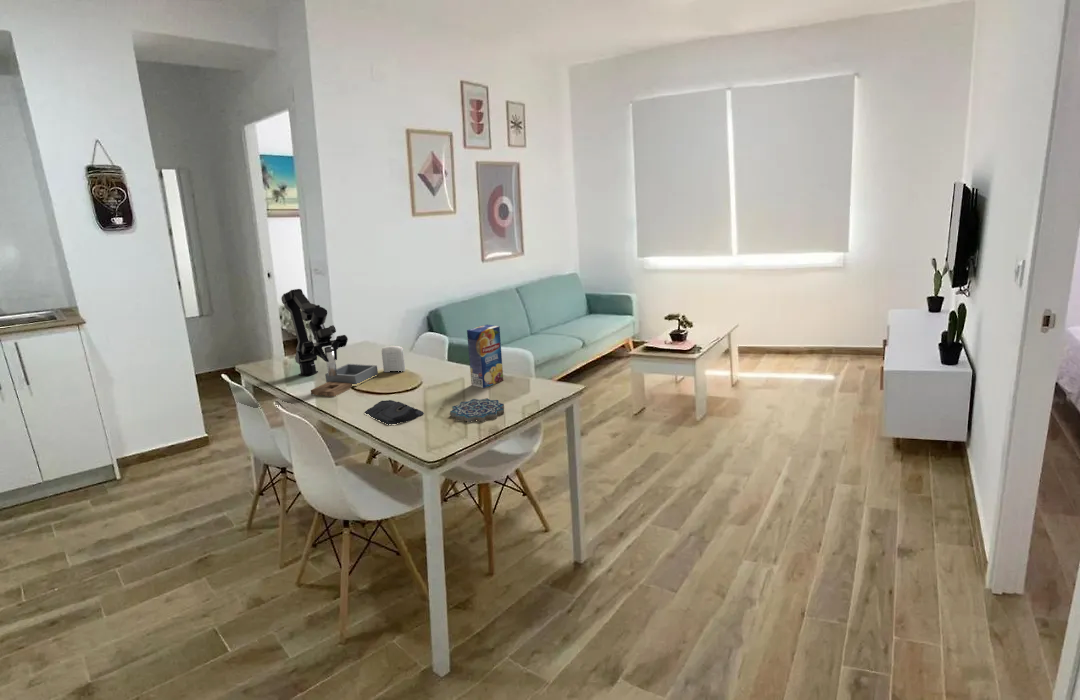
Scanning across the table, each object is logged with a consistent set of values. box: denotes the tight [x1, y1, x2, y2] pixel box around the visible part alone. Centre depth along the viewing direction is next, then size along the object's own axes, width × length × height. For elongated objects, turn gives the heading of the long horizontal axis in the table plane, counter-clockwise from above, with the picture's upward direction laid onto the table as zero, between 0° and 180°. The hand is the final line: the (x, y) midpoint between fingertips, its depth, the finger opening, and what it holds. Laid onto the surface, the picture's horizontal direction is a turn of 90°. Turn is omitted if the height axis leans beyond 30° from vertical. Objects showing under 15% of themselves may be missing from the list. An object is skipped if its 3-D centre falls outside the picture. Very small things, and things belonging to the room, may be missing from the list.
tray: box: [324, 363, 379, 384], centre depth 277 cm, size 16×16×5 cm
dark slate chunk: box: [363, 399, 425, 425], centre depth 231 cm, size 15×22×5 cm
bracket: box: [310, 381, 353, 397], centre depth 263 cm, size 12×12×2 cm
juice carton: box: [466, 324, 504, 389], centre depth 260 cm, size 12×8×24 cm, turn 140°
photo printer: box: [381, 345, 406, 373], centre depth 286 cm, size 10×4×12 cm, turn 85°
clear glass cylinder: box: [323, 346, 337, 376], centre depth 261 cm, size 4×4×12 cm
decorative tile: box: [449, 397, 505, 423], centre depth 229 cm, size 20×20×2 cm
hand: (331, 360), depth 260 cm, fingers closed on clear glass cylinder, 4 cm apart
